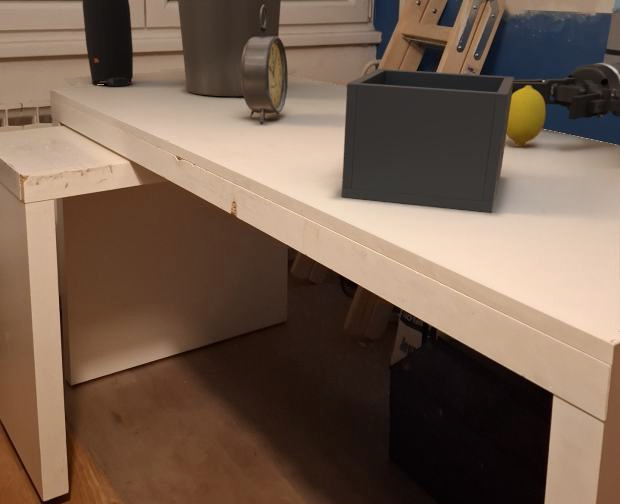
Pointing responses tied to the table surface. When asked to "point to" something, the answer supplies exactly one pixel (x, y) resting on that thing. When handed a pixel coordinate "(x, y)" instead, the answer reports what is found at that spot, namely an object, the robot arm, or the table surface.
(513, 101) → the lemon
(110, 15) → the portable speaker
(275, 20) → the waste basket
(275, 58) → the alarm clock
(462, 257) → the table surface
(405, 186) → the bin
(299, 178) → the table surface
